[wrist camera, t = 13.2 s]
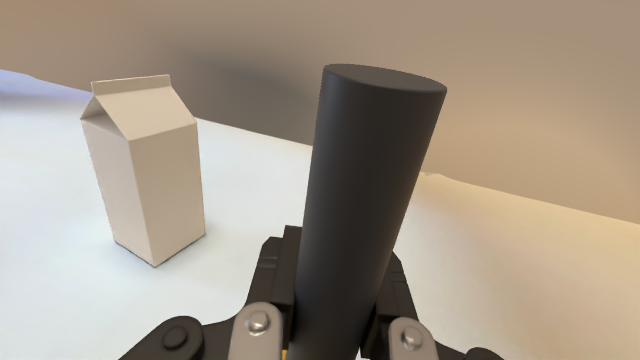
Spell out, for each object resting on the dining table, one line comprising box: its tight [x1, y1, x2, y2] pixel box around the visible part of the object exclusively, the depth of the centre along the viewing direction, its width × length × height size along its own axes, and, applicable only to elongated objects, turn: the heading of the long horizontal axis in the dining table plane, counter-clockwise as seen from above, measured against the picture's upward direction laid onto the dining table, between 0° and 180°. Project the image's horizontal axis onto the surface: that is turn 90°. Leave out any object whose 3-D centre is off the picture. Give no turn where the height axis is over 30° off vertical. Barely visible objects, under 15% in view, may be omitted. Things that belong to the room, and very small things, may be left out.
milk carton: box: [80, 75, 205, 267], centre depth 31 cm, size 7×7×19 cm
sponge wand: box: [282, 64, 447, 360], centre depth 10 cm, size 7×4×18 cm, turn 179°
